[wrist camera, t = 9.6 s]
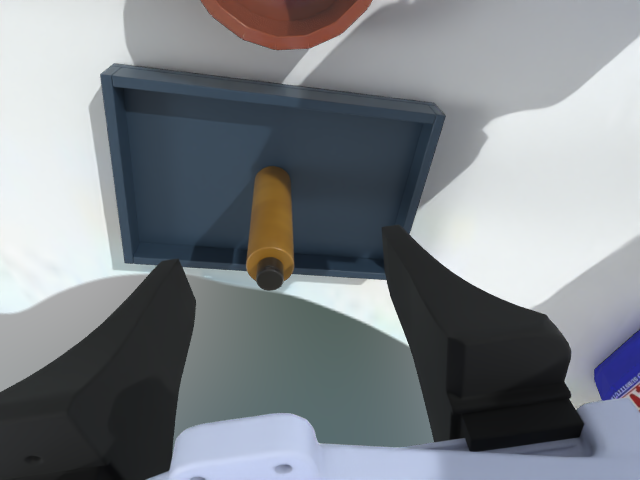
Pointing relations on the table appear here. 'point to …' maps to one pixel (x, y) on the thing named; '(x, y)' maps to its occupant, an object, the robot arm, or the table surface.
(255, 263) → the marker
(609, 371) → the bread
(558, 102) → the table surface
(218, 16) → the pen cup
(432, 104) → the tray
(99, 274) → the table surface
